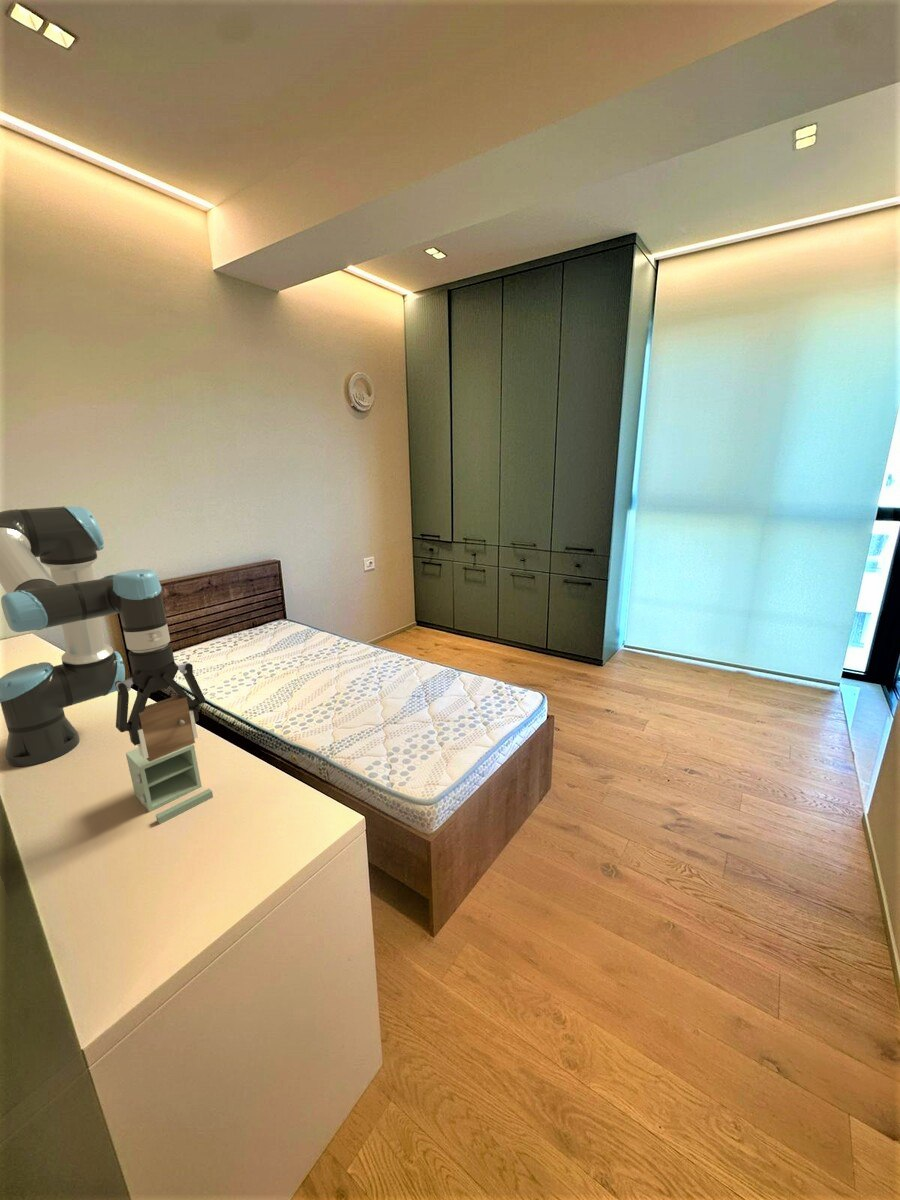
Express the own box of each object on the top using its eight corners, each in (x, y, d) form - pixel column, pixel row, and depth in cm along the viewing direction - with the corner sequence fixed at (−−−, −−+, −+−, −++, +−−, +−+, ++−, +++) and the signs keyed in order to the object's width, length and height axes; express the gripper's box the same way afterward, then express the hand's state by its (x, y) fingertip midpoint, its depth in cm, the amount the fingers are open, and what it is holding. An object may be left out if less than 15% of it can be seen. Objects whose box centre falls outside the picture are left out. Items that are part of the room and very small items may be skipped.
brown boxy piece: (145, 757, 98) (134, 709, 95) (190, 739, 105) (181, 694, 102) (151, 763, 96) (140, 714, 93) (196, 744, 102) (188, 698, 100)
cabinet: (131, 796, 107) (121, 754, 104) (185, 772, 116) (178, 732, 113) (155, 826, 97) (145, 780, 95) (213, 796, 106) (205, 753, 103)
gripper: (89, 667, 84) (115, 777, 90) (212, 635, 100) (228, 730, 106) (78, 658, 89) (104, 763, 95) (197, 629, 105) (213, 720, 111)
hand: (169, 745), depth 100 cm, fingers closed on brown boxy piece, 9 cm apart
